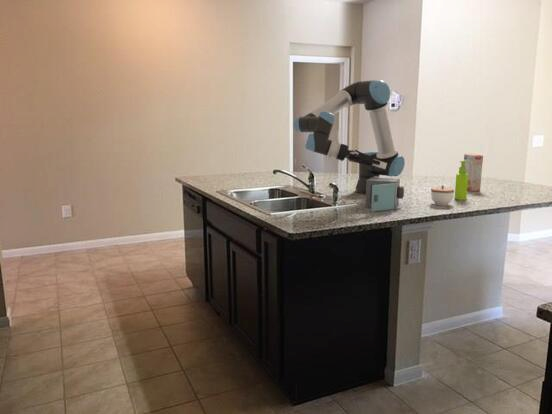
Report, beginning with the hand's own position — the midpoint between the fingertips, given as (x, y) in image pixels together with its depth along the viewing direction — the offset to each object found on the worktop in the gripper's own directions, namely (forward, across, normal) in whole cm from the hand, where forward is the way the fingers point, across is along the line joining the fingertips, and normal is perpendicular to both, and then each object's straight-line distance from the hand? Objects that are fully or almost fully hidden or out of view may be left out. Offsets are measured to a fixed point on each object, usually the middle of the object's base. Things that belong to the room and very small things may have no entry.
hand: (385, 166), depth 220 cm
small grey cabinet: (+7, -12, -16) cm, 21 cm away
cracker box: (+64, -59, +19) cm, 89 cm away
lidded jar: (+35, -15, -6) cm, 38 cm away
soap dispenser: (+49, -30, +4) cm, 58 cm away
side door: (+5, -1, -20) cm, 21 cm away
